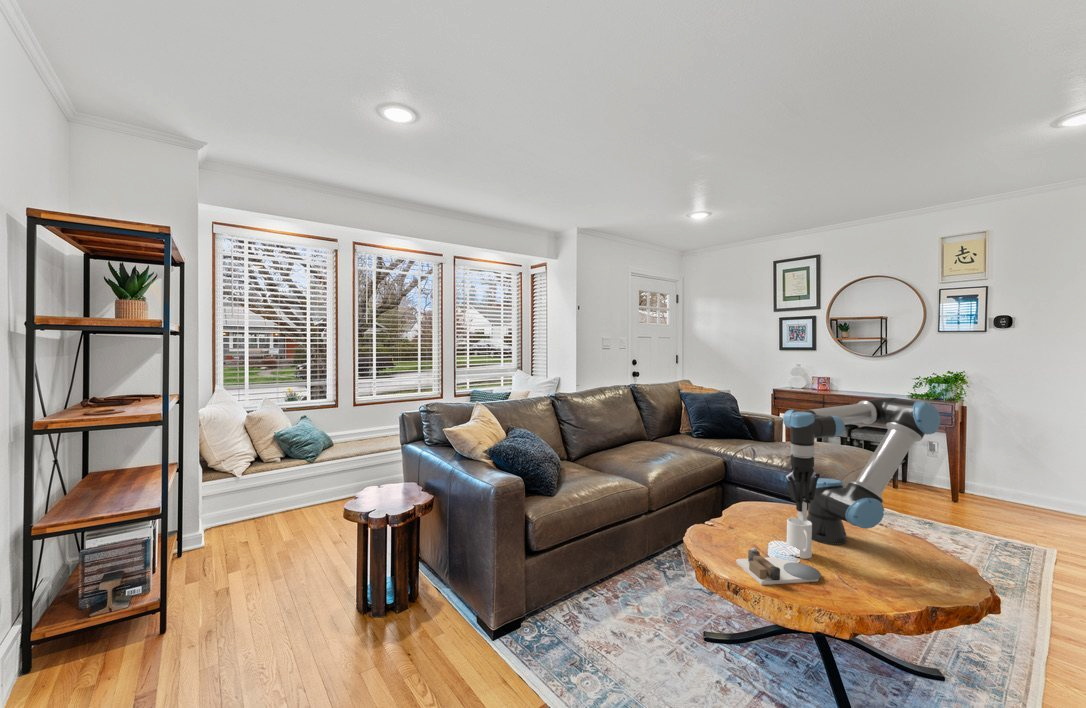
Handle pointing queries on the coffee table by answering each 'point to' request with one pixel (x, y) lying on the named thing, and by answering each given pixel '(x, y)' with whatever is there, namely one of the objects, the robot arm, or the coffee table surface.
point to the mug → (800, 536)
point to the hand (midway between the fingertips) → (802, 519)
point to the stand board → (788, 571)
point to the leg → (765, 564)
